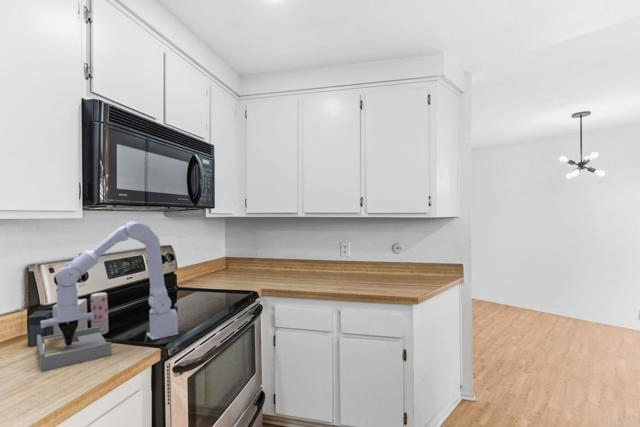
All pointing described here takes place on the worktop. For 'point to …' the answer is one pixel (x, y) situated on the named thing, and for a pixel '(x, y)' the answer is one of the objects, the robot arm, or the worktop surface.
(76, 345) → the trap tray
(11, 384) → the worktop surface
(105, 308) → the beverage can
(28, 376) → the worktop surface
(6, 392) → the worktop surface
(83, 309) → the soap bottle
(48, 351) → the maple block
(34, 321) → the box
